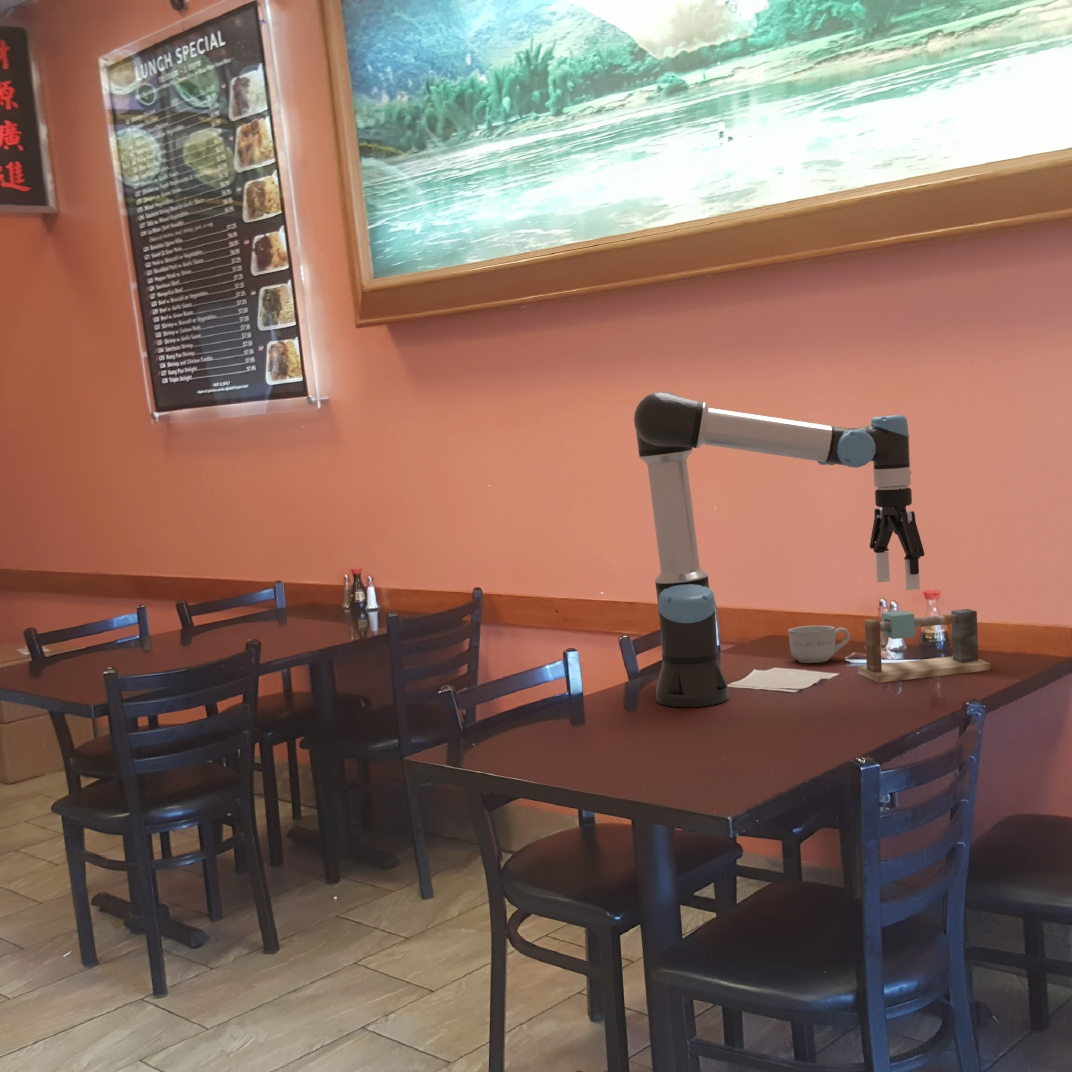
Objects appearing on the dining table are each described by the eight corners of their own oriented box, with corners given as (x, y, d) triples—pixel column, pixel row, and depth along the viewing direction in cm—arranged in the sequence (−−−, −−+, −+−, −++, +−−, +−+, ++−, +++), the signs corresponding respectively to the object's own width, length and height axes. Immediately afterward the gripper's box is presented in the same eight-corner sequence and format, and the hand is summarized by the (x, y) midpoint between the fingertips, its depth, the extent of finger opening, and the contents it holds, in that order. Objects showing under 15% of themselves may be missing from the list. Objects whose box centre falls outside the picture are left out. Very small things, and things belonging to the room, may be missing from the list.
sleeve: (893, 639, 257) (892, 616, 257) (882, 635, 262) (881, 612, 261) (915, 636, 258) (914, 613, 257) (903, 632, 263) (903, 610, 262)
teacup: (787, 666, 277) (785, 632, 276) (791, 656, 287) (790, 623, 286) (849, 666, 273) (848, 631, 272) (851, 656, 283) (850, 622, 282)
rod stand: (878, 682, 255) (876, 624, 253) (858, 673, 264) (855, 617, 263) (990, 670, 259) (989, 613, 258) (966, 661, 269) (964, 606, 268)
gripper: (938, 488, 245) (943, 591, 247) (882, 483, 270) (887, 576, 272) (904, 491, 244) (909, 594, 246) (851, 486, 268) (856, 580, 270)
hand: (897, 585), depth 259 cm, fingers open, 13 cm apart
